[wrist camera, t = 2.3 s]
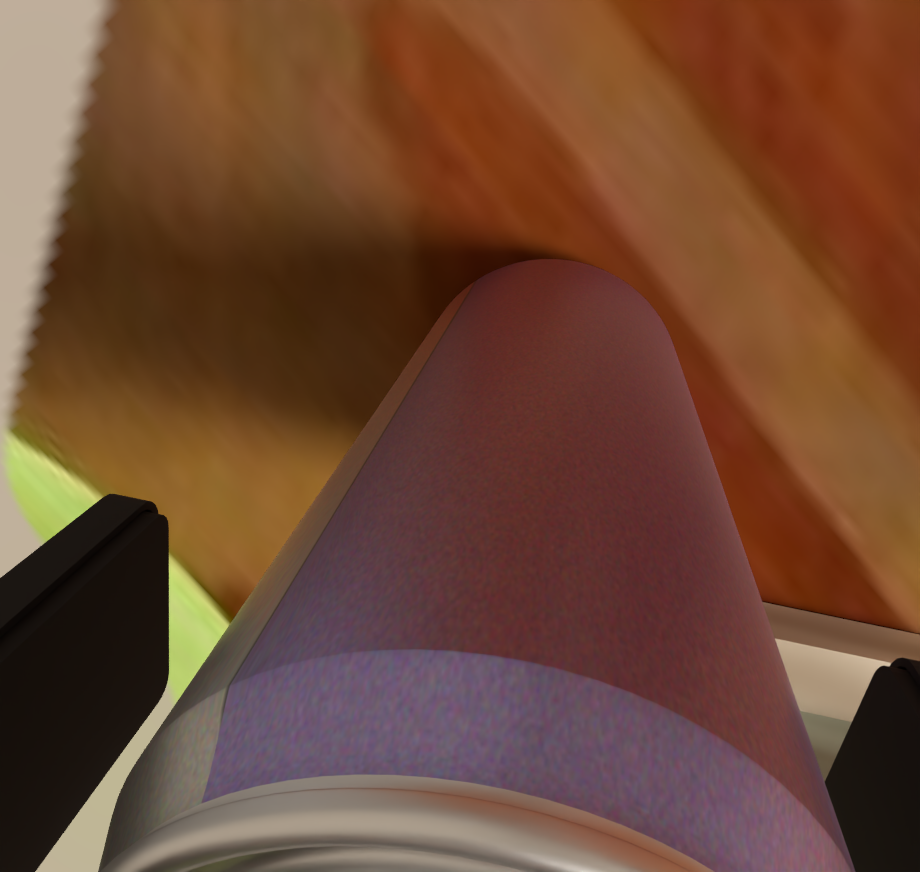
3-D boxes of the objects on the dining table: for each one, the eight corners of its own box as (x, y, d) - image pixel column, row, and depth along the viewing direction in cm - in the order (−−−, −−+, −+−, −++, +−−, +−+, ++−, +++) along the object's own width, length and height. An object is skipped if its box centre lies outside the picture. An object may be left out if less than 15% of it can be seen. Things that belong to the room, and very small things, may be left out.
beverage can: (596, 200, 17) (630, 634, 3) (720, 419, 18) (1097, 1338, 5) (380, 335, 19) (-161, 953, 5) (509, 523, 20) (348, 1375, 7)
